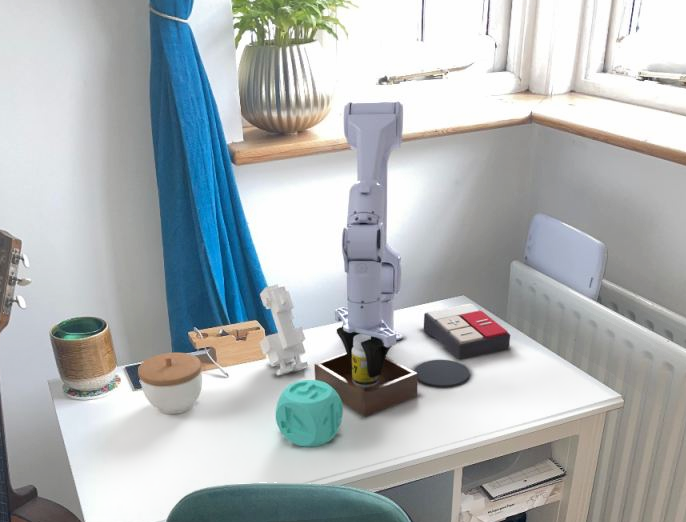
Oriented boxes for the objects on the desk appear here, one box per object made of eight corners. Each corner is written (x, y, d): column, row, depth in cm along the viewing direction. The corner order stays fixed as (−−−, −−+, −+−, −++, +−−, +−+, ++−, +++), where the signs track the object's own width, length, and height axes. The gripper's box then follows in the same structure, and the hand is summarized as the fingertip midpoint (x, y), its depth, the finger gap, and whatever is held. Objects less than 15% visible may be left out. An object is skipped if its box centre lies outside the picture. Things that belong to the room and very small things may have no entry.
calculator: (460, 342, 148) (423, 309, 159) (458, 362, 151) (422, 329, 162) (512, 331, 151) (472, 299, 162) (509, 351, 154) (470, 319, 165)
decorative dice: (318, 452, 126) (316, 408, 121) (276, 439, 130) (272, 396, 125) (344, 428, 131) (342, 385, 127) (303, 417, 135) (300, 375, 131)
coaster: (402, 372, 147) (402, 370, 147) (443, 356, 152) (443, 354, 151) (439, 392, 140) (439, 390, 140) (481, 375, 145) (481, 373, 144)
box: (315, 385, 144) (314, 363, 142) (365, 366, 150) (365, 345, 147) (364, 417, 134) (364, 394, 132) (417, 395, 140) (417, 373, 137)
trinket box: (217, 396, 142) (211, 348, 137) (184, 425, 134) (177, 376, 129) (167, 386, 146) (159, 339, 141) (132, 414, 138) (123, 365, 133)
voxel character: (287, 366, 140) (261, 284, 140) (268, 380, 151) (244, 305, 151) (323, 356, 142) (297, 276, 142) (302, 371, 153) (278, 297, 153)
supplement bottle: (350, 376, 143) (349, 332, 138) (376, 374, 143) (376, 330, 138) (353, 388, 139) (352, 344, 134) (380, 386, 139) (380, 342, 134)
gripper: (319, 290, 135) (322, 362, 143) (372, 316, 125) (373, 392, 133) (352, 280, 139) (354, 350, 146) (406, 304, 129) (405, 379, 136)
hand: (365, 370), depth 140 cm, fingers closed on supplement bottle, 5 cm apart
